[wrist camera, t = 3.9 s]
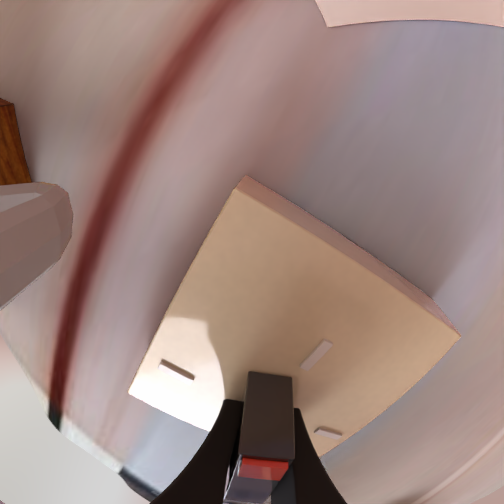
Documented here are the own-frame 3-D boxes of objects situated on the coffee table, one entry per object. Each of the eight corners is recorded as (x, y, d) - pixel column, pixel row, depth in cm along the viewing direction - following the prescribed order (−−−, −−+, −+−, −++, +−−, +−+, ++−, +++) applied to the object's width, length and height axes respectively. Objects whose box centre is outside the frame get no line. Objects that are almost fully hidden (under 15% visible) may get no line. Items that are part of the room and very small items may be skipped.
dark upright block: (267, 439, 11) (263, 509, 8) (232, 434, 12) (222, 504, 8) (292, 376, 10) (295, 466, 6) (248, 369, 10) (237, 459, 6)
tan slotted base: (294, 432, 16) (294, 474, 13) (140, 366, 14) (119, 408, 11) (432, 299, 12) (463, 338, 9) (245, 174, 10) (233, 188, 7)
